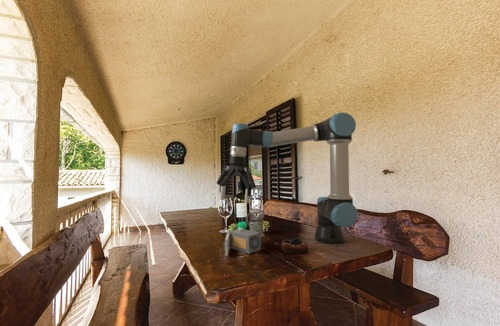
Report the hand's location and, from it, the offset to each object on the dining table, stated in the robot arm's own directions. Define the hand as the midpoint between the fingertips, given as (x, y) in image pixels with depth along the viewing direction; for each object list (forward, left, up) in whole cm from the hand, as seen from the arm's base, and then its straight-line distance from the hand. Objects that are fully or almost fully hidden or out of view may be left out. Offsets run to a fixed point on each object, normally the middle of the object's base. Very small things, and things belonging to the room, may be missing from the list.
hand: (234, 201), depth 114 cm
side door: (+2, +3, -23) cm, 23 cm away
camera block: (0, -6, -23) cm, 24 cm away
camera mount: (+10, -17, -24) cm, 31 cm away
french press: (+15, -29, -24) cm, 41 cm away
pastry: (-19, -21, -24) cm, 37 cm away
